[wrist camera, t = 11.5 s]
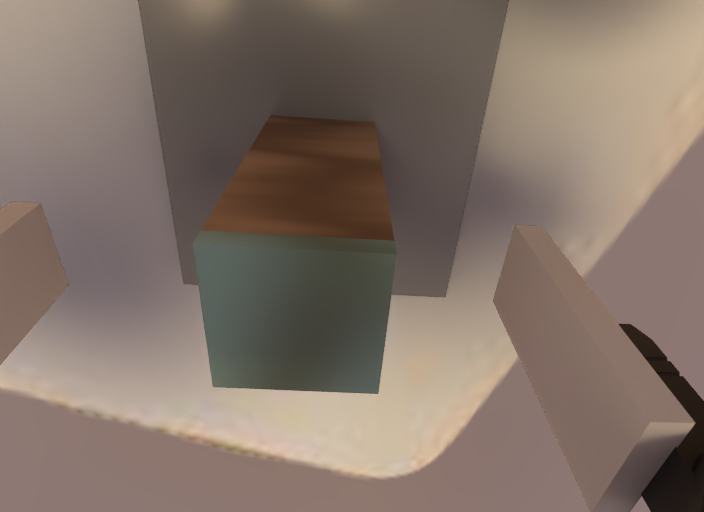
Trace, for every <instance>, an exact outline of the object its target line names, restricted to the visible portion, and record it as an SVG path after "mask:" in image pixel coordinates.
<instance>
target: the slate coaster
mask: <svg viewBox="0 0 704 512" xmlns="http://www.w3.org/2000/svg"><path fill="white" fill-rule="evenodd" d="M138 2H139V9H140V15H141V21H142V27H143V33H144V40H145V46H146V52H147V58H148V65H149V71H150V77H151V83H152V89H153V96H154V102H155V108H156V114H157V121H158V127H159V133H160V139H161V145H162V152H163V158H164V164H165V170H166V177H167V183H168V189H169V195H170V201H171V208H172V214H173V220H174V226H175V233H176V239H177V245H178V251H179V257H180V264H181V270H182V276H183V282H184V284H192V285H198V278H197V271H196V264H195V257H194V250H193V242H194V240H195V239H196V237H197V235H198V234H199V232H200V230H201V229H202V227H203V225H204V224H205V222H206V220H207V219H208V217H209V215H210V214H211V212H212V211H213V209H214V207H215V206H216V204H217V202H218V201H219V199H220V197H221V196H222V194H223V192H224V191H225V189H226V187H227V186H228V184H229V182H230V181H231V179H232V177H233V176H234V174H235V172H236V171H237V169H238V167H239V166H240V164H241V163H242V161H243V159H244V158H245V156H246V154H247V153H248V151H249V149H250V148H251V146H252V144H253V143H254V141H255V139H256V138H257V136H258V134H259V133H260V131H261V129H262V128H263V126H264V124H265V123H266V121H267V119H268V118H269V116H270V115H272V116H288V117H304V118H320V119H337V120H353V121H369V122H375V127H376V133H377V139H378V145H379V151H380V157H381V163H382V169H383V175H384V181H385V187H386V193H387V199H388V205H389V211H390V217H391V223H392V229H393V235H394V241H395V247H396V253H397V255H396V263H395V270H394V278H393V286H392V293H391V295H409V296H428V297H446V292H447V287H448V283H449V278H450V273H451V269H452V264H453V259H454V255H455V250H456V245H457V241H458V236H459V231H460V227H461V222H462V217H463V213H464V208H465V203H466V199H467V194H468V189H469V185H470V180H471V175H472V171H473V166H474V161H475V157H476V152H477V147H478V143H479V138H480V133H481V129H482V124H483V119H484V115H485V110H486V105H487V101H488V96H489V91H490V86H491V82H492V77H493V72H494V68H495V63H496V58H497V54H498V49H499V44H500V40H501V35H502V30H503V26H504V21H505V16H506V12H507V7H508V2H509V0H138Z"/></svg>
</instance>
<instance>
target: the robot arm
mask: <svg viewBox="0 0 704 512" xmlns="http://www.w3.org/2000/svg"><path fill="white" fill-rule="evenodd" d="M67 286H68V282H67V279H66V276H65V273H64V270H63V267H62V264H61V261H60V258H59V256H58V253H57V250H56V247H55V244H54V241H53V238H52V235H51V232H50V229H49V226H48V223H47V220H46V217H45V214H44V211H43V209H42V206H41V203H30V202H10V203H9V204H7V205H6V206H4V207H3V208H1V209H0V365H1V364H2V362H3V361H4V360H5V359H6V358H7V357H8V355H9V354H10V353H11V352H12V351H13V350H14V348H15V347H16V346H17V345H18V344H19V343H20V341H21V340H22V339H23V338H24V337H25V336H26V334H27V333H28V332H29V331H30V330H31V329H32V327H33V326H34V325H35V324H36V323H37V322H38V320H39V319H40V318H41V317H42V316H43V315H44V313H45V312H46V311H47V310H48V309H49V307H50V306H51V305H52V304H53V303H54V302H55V300H56V299H57V298H58V297H59V296H60V295H61V293H62V292H63V291H64V290H65V289H66V288H67ZM493 302H494V304H495V306H496V309H497V311H498V313H499V315H500V317H501V319H502V322H503V324H504V326H505V328H506V330H507V332H508V335H509V337H510V339H511V341H512V343H513V345H514V348H515V350H516V352H517V354H518V356H519V358H520V361H521V363H522V365H523V367H524V369H525V371H526V374H527V376H528V378H529V380H530V382H531V384H532V386H533V389H534V391H535V393H536V395H537V398H538V400H539V402H540V404H541V406H542V408H543V410H544V413H545V415H546V417H547V419H548V421H549V424H550V426H551V428H552V430H553V432H554V434H555V437H556V439H557V441H558V443H559V445H560V447H561V450H562V452H563V454H564V456H565V458H566V460H567V462H568V465H569V467H570V469H571V471H572V473H573V475H574V478H575V480H576V482H577V484H578V486H579V489H580V490H581V493H582V495H583V497H584V499H585V502H586V504H587V506H588V508H589V510H590V512H630V511H631V510H632V508H633V507H634V506H635V504H636V503H637V501H638V500H639V499H640V498H641V496H642V497H643V499H644V500H645V502H646V504H647V505H648V507H649V509H650V511H651V512H704V401H703V400H702V399H701V397H700V396H699V395H698V394H697V393H696V391H695V390H694V389H693V388H692V387H691V386H690V384H689V383H688V382H687V381H686V379H685V378H684V377H683V376H680V375H679V371H678V370H677V369H676V368H675V367H674V365H673V364H672V363H671V362H670V361H667V357H666V356H665V355H664V353H663V352H662V351H661V350H660V349H659V347H658V346H657V345H656V344H655V343H654V342H653V340H652V339H650V338H649V337H648V336H646V335H645V334H643V333H642V332H641V331H639V330H638V329H637V328H635V327H634V326H632V325H631V324H617V322H616V321H615V319H614V318H613V317H612V316H611V314H610V313H609V312H608V311H607V309H606V308H605V307H604V306H603V304H602V303H601V302H600V300H599V299H598V298H597V296H596V295H595V294H594V293H593V291H592V290H591V289H590V288H589V286H588V285H587V284H586V282H585V281H584V280H583V279H582V277H581V276H580V275H579V274H578V272H577V271H576V270H575V268H574V267H573V266H572V265H571V263H570V262H569V261H568V259H567V258H566V257H565V256H564V254H563V253H562V252H561V251H560V249H559V248H558V247H557V245H556V244H555V243H554V242H553V240H552V239H551V238H550V236H549V235H548V234H547V233H546V231H545V230H544V229H543V228H542V226H529V225H515V227H514V231H513V234H512V238H511V241H510V244H509V248H508V251H507V255H506V258H505V261H504V265H503V268H502V272H501V275H500V278H499V282H498V285H497V289H496V292H495V295H494V299H493Z"/></svg>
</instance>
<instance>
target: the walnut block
mask: <svg viewBox="0 0 704 512" xmlns="http://www.w3.org/2000/svg"><path fill="white" fill-rule="evenodd" d="M193 250H194V257H195V264H196V271H197V278H198V285H199V292H200V299H201V306H202V313H203V320H204V327H205V334H206V341H207V348H208V355H209V362H210V369H211V376H212V383H213V387H226V388H250V389H274V390H298V391H322V392H346V393H370V394H378V391H379V384H380V376H381V369H382V361H383V353H384V346H385V338H386V331H387V323H388V316H389V308H390V301H391V293H392V286H393V278H394V270H395V263H396V255H397V253H396V247H395V241H394V235H393V229H392V223H391V217H390V211H389V205H388V199H387V193H386V187H385V181H384V175H383V169H382V163H381V157H380V151H379V145H378V139H377V133H376V127H375V122H369V121H353V120H337V119H320V118H304V117H288V116H272V115H270V116H269V118H268V119H267V121H266V123H265V124H264V126H263V128H262V129H261V131H260V133H259V134H258V136H257V138H256V139H255V141H254V143H253V144H252V146H251V148H250V149H249V151H248V153H247V154H246V156H245V158H244V159H243V161H242V163H241V164H240V166H239V167H238V169H237V171H236V172H235V174H234V176H233V177H232V179H231V181H230V182H229V184H228V186H227V187H226V189H225V191H224V192H223V194H222V196H221V197H220V199H219V201H218V202H217V204H216V206H215V207H214V209H213V211H212V212H211V214H210V215H209V217H208V219H207V220H206V222H205V224H204V225H203V227H202V229H201V230H200V232H199V234H198V235H197V237H196V239H195V240H194V242H193Z"/></svg>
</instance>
